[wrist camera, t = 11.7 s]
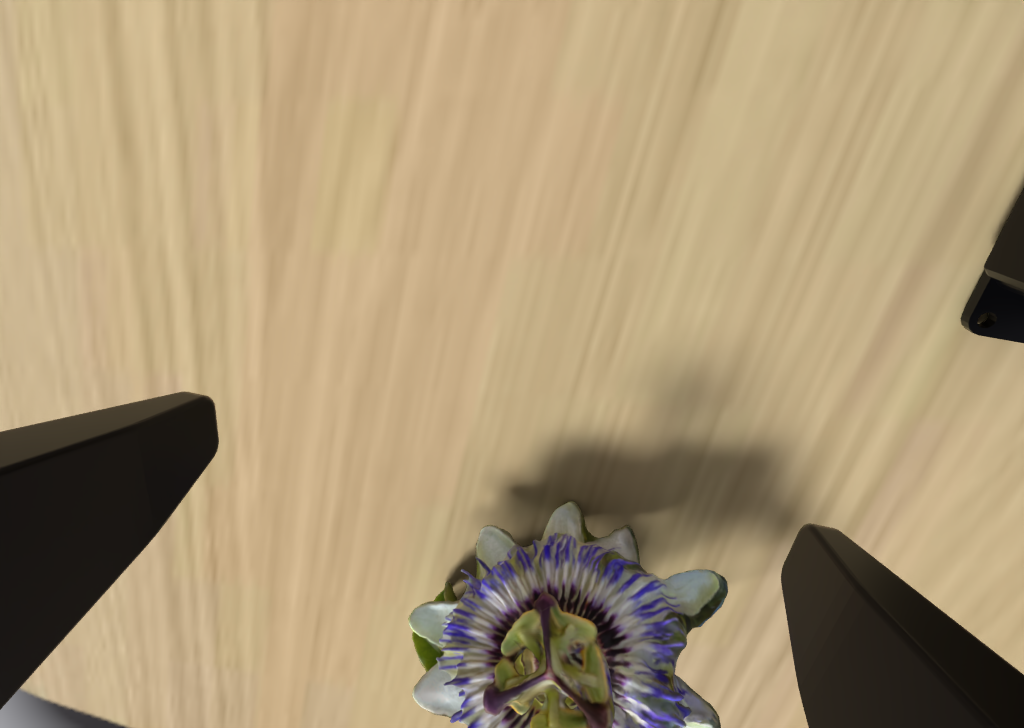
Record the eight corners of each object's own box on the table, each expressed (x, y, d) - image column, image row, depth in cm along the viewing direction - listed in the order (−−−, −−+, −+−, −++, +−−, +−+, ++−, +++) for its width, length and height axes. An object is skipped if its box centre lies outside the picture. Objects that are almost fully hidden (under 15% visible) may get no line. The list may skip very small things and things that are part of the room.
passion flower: (574, 449, 28) (753, 526, 17) (625, 631, 30) (818, 812, 18) (360, 540, 24) (406, 716, 13) (432, 742, 26) (527, 1049, 15)
